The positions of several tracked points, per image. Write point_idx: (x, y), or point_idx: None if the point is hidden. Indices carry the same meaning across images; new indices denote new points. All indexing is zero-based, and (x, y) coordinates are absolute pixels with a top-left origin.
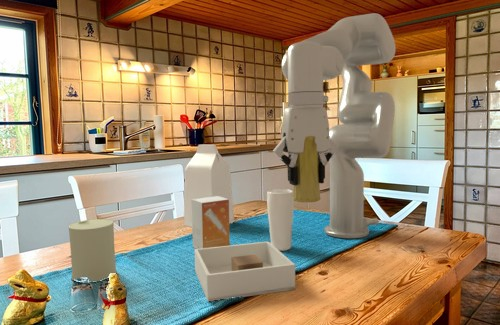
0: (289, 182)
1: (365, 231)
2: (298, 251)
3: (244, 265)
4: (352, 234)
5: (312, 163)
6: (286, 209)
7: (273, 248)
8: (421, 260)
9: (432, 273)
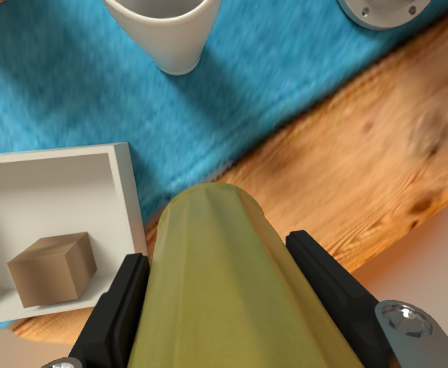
0: (126, 256)
1: (420, 4)
2: (210, 86)
3: (39, 304)
4: (376, 22)
5: None
6: (178, 52)
7: (118, 202)
8: (396, 195)
9: (371, 247)
